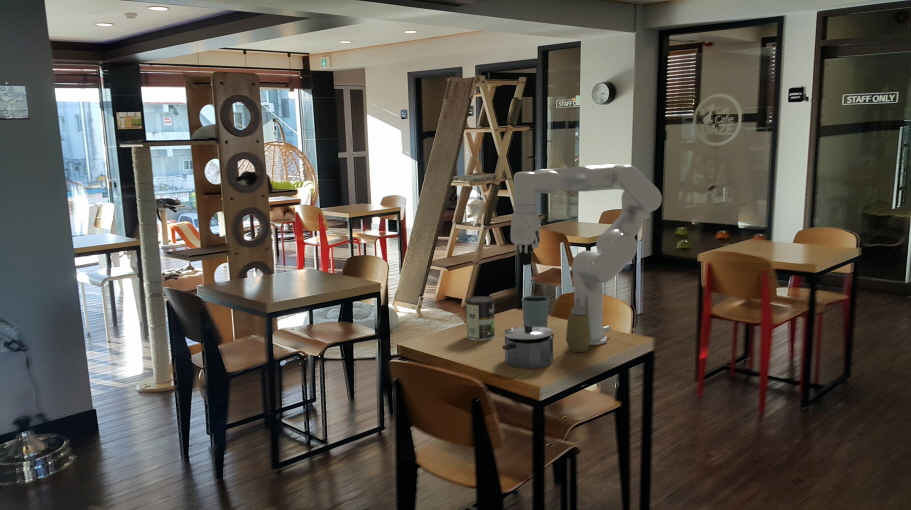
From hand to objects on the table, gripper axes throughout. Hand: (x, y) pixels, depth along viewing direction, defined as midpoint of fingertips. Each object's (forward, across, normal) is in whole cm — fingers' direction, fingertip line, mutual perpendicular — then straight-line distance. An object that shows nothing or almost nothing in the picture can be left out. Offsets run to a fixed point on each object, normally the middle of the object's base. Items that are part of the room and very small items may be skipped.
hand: (526, 264), depth 235 cm
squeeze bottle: (+29, +13, +11) cm, 34 cm away
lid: (+20, +10, -9) cm, 24 cm away
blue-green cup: (+29, -15, +19) cm, 38 cm away
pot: (+29, +10, -9) cm, 32 cm away
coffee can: (+29, -22, -2) cm, 37 cm away
